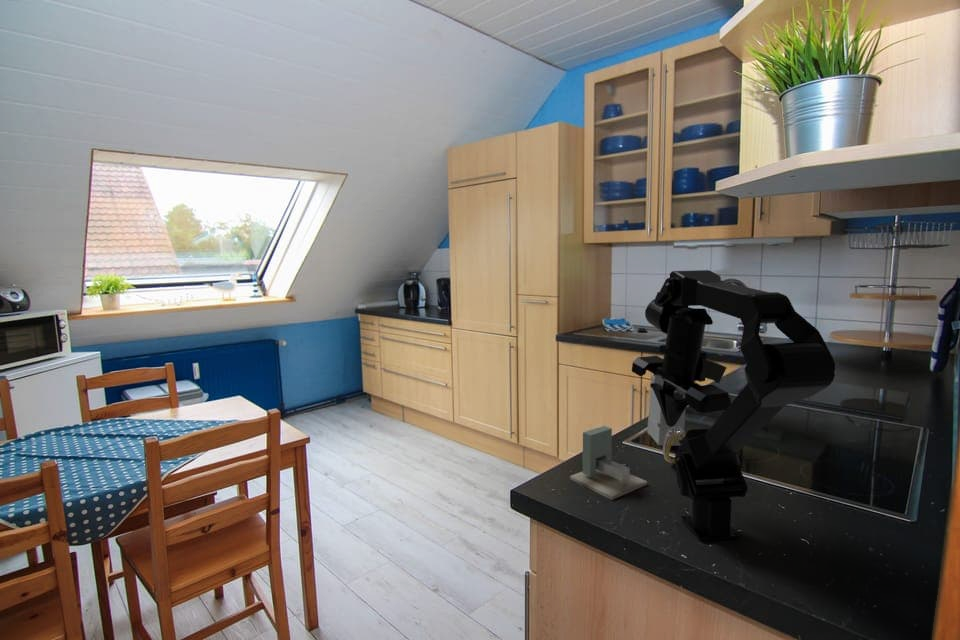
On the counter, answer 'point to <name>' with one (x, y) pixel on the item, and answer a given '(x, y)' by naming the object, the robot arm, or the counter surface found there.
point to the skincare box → (660, 421)
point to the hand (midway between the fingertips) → (670, 425)
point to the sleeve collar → (596, 448)
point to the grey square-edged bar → (613, 470)
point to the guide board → (608, 484)
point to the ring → (671, 441)
